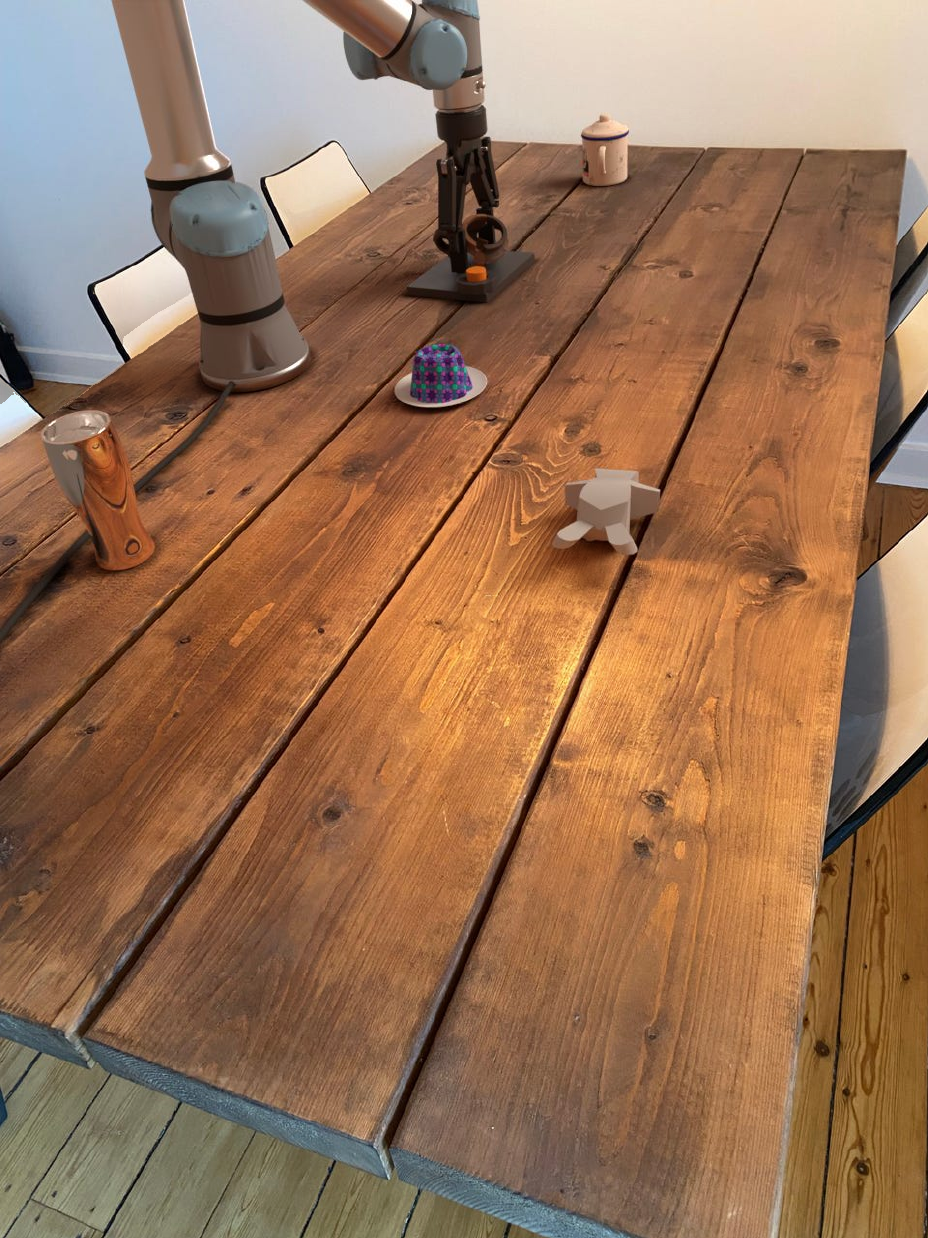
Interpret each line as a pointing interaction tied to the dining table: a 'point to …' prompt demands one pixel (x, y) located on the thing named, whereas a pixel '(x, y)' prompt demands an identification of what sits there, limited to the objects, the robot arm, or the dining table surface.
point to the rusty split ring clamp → (477, 240)
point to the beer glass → (98, 486)
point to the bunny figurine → (607, 509)
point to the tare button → (476, 274)
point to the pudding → (440, 378)
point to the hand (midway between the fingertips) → (474, 260)
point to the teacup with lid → (605, 152)
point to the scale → (458, 288)
